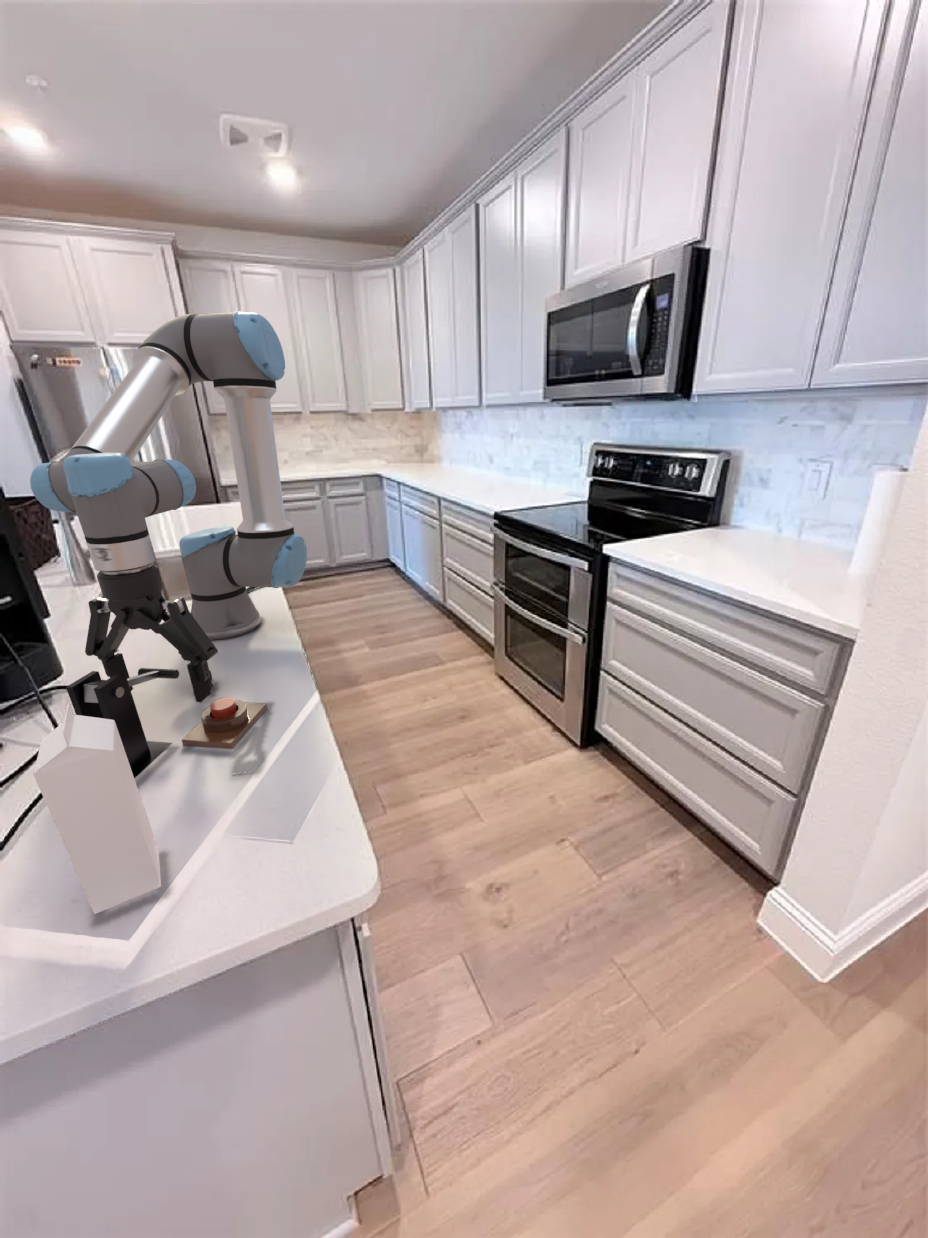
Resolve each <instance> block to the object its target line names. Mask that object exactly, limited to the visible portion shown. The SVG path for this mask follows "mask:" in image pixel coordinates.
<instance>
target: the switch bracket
mask: <svg viewBox="0 0 928 1238" xmlns="http://www.w3.org/2000/svg"><path fill="white" fill-rule="evenodd" d="M99 680H102V678H101V674H100V671H97V670H91V671H90V672H89V673H87V674H85V675H84V676H82V677H80V678H79V679H77V680H75V681H74V682H72V683H70V684H68V685H67V686H66V687H65V689H66V692H67V695H68V697H69V700H70V702H71V706H72V707H73V708H72V709H73V711H74V714H75V715H81V716H89V717H96V718H104V719H111V720H114V721H115V723H116V726H117V729H118V732H119V735H120V738H121V741H122V744H123V747H124V750H125V753H126V756H127V759H128V761H129V764H130V767H131V770H132V773H133V776H134V779H136V778H137V777H139V775H141V774H142V773H143V772H144V771H145V770H146V769H147V768H148V767H149V766H150V765H151V764H152V763H153V762H154V761H155V760H156V759H157V758H158V757H159V756H161V754H163V753H164V752H165V751H166V750H167V749H168V748H169V747H170V746H171V745H173V742H167V741H151V740H147V738H146V734H145V731H144V729H143V724H142V721H141V718H140V716H139V713H138V710H137V706H136V703H135V700H134V697H133V694H132V690H130V687H129V684H128V681H127V677H126V674H125V673H121V672H119V673H117V674H115V675H114V676H112V677H111V678H110V677H108V678H107V679H105V680H106V681H105V682H103V683H102V684H100V685H98V686H97V687H95V688H94V691H95V694H96V697H97V700H98V703H90V702H85V700H84V686H83V685H84V684H88V683H91V682H95V681H99Z"/></svg>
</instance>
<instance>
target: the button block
mask: <svg viewBox="0 0 928 1238" xmlns="http://www.w3.org/2000/svg"><path fill="white" fill-rule="evenodd" d="M234 700H235V704H236V708H237V711H236V713H235V714H233V715H231V716H229V717H226V718H221V719H218V718H213V717H212V714H211V710H210V705H209V706H208V707H207V708H205V709H204V710H203V711H202V712H201V717H200V720H201V721H199V723H197V724H196V726H194V727H193V728H192V729H191V730H190V731H189V732H188V733H187V734H186V735H185V736H184V737H183V738H182V739H181V743H182V746H184V747H197V748H198V747H199V748H211V749H225V750H226V749H227V750H233V749H234V748H235V747H236V746H237V745H238V743H240V741H241V740H242V739H243V738H244V737H245V735H246V734H247V733H248V732H249V731H250V730H251V729H252V727H253V726H254V725H255V724H256V722H258V721H259V720H260V718H261V717H262V716H263V715H264V713H266V712H267V710H268V704H267V702H250V701H249V702H248V701H242V700H239V699H234Z"/></svg>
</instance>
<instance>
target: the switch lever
mask: <svg viewBox="0 0 928 1238" xmlns="http://www.w3.org/2000/svg"><path fill="white" fill-rule="evenodd" d="M179 677H180V671H179V669H174V668H173V669H172V668H171V669H170V668H148V667H140V668H139V669H138V670H137V675H135V676H130V678H127V681H128V684H129V687H130V686H132V687H133V686H137V685H140V684H144V683H146V682H149V681H152V680H156V679H171V680H177V679H179ZM106 680H107V679H101V680H99V681H95V682H91V683H88V684H84V685H83V686H84V700H85V702H90V703H98V700H97V697H96V694H95V691H94V688H95V687H97V686H98V685H100V684H102V683H103V682H105V681H106Z"/></svg>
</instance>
